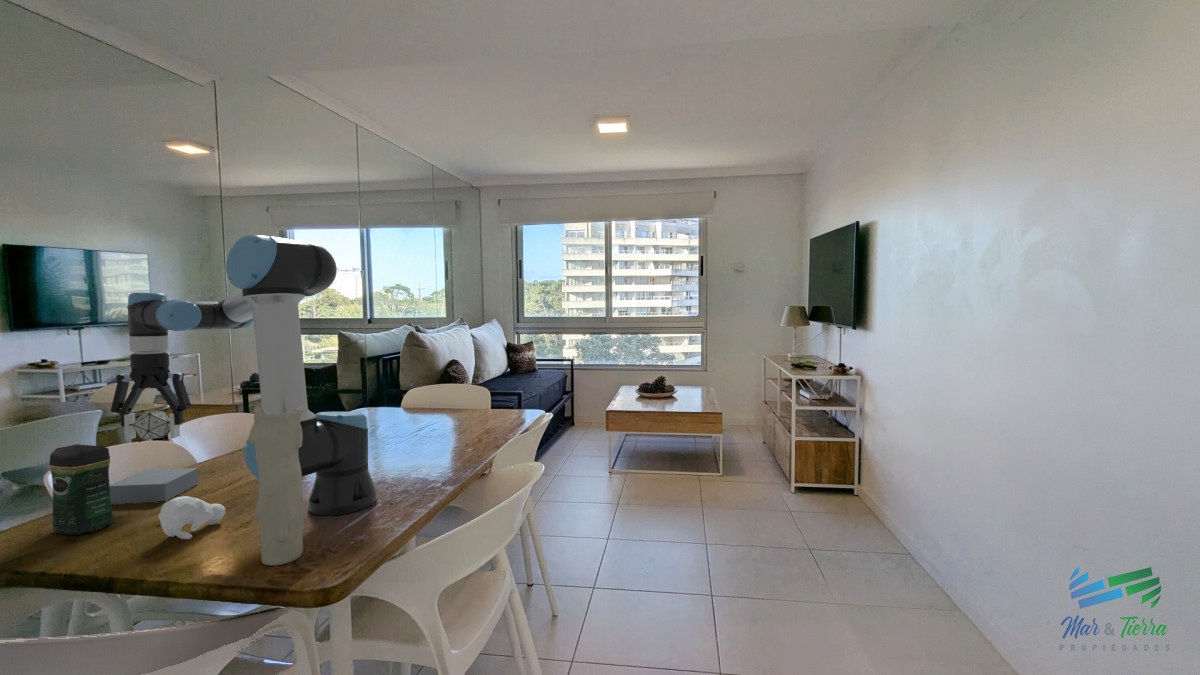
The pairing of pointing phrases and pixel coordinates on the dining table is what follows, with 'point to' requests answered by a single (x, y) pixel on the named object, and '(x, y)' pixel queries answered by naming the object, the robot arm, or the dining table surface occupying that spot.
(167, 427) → the game die
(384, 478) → the dining table surface
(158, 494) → the grey square block
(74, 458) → the coffee jar
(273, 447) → the vase
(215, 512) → the white animal figurine
